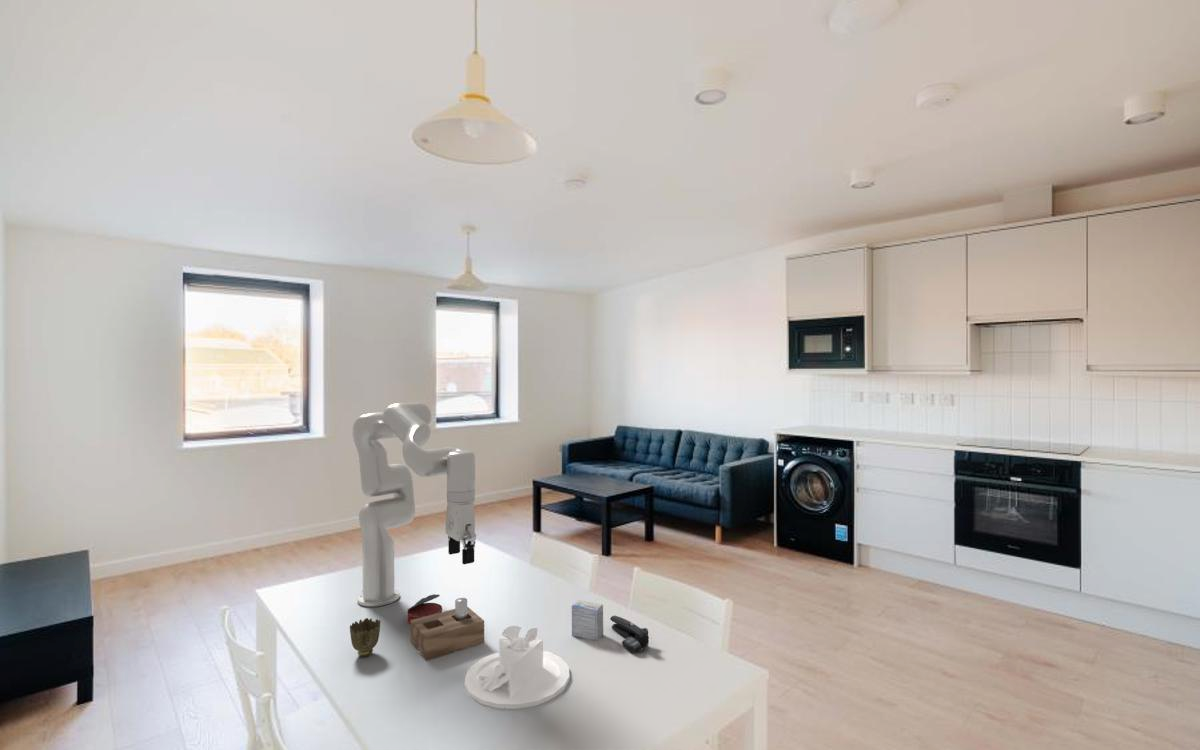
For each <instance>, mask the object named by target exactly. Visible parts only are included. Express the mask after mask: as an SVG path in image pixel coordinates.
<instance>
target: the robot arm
mask: <svg viewBox="0 0 1200 750" xmlns="http://www.w3.org/2000/svg"><path fill="white" fill-rule="evenodd" d="M431 422H432V412H431V410H430V408H429V407H428V406H427V405H426V403H423V402H419V401H417V402H416V401H415V402H398V403H396V402H395V403H393V404H390V405H388V406H387V407H386V408H385V409H384V411H383V412H382V411H381V412H379V411H378V412H370V413H365V414H362V415H360V416H358V417H356V419H355V420H354V422H353V424H352V438H353V443H354V445H355V447H356V451H357V454H358V462H359V473H360V484H361V489H362V492H363V495H364V496H366V497H369V498H370V497H371V498H375V497H381V496H386V495H387V496H388V495H392V494H393V497H391V498H384V499H379V500H375V501H369V502H368V503H366V504H364V505H363V506H362V507H361V508H360V510H359V513H358V521H359V526H360V531H361V541H362V542H361V543H362V544H361V545H362V546H361V547H362V549H361V550H362V593H361V594H360V595H358V597H357V603H358V605H360V606H363V607H371V608H372V607H380V606H381V607H382V606H387V605H389V604H391V603H394V602H396V601H397V600H398V599H399V598H400V591H399V590H398V589H395V542H394V539H393V537H392V536H391V535H390V534H389V533H388V530H390V529H394V528H397V527H402V526H405V525H408V524H410V523H412V522H413V520H414V518H415V514H416V504H415V495H414V494H415V493H414V482H413V476H412V473H411V471H412V472H413V473H415V474H416V475H417V476H419V477H421V478H433V477H437V476H438V477H439V476H445V475H446V503H447V504H446V511H445V512H446V514H445V515H446V516H445V534H446V535H447V539H448V542H447V545H448V547H447V548H448V555H451V556H452V555H455V554H460V553H461V552H462V553H461V555H462V556H461V557H462V558H461V559H462V560H461V563H462V565H467V564H473V563H475V548H476V543H477V542H476V539H477V534H476V519H475V518H476V517H475V515H476V514H475V508H474V502H476V455H475V453H474V452H473V451H471V450H466V449H463V450H462V449H461V448H459V447H455V446H447V447H440V448H431V449H430V448H429V449H423V448H422V447H423V446H425V444H426V443H427V442H428V441H429V439H430V438H431V434H432V432H431V428H430V426H429V425H430V423H431ZM391 438H392V439H393V438H395V439H396V438H398V439H399V440H400V441H401V443H402V448H401V449H402V456H403V460H404V462H405V464H403V463H393V464H389V462H388V451H387V449H386V448H385V446H384V445H383V443H382V442H381V441H380V440H383V439H391ZM410 469H411V471H410ZM466 541H467V542H466ZM461 544H462V548H463V549H462V550H461Z"/></svg>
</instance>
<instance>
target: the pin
mask: <svg viewBox="0 0 1200 750" xmlns="http://www.w3.org/2000/svg"><path fill="white" fill-rule="evenodd" d="M454 603H455V604H454V605H455V606H454V609H455V620H456V621H461V620H465V619H467V607H468V598H465V597H458V598H456V599H455V600H454Z"/></svg>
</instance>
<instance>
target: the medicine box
mask: <svg viewBox="0 0 1200 750" xmlns="http://www.w3.org/2000/svg"><path fill="white" fill-rule="evenodd" d="M603 635H604V605H603V604H602V603H597V602H594V601H593V602H592V601H586V600H580V599H578V600H577V601H575V602H574V603H572V605H571V636H573V637H578V638H581V639H582V638H583V639H585V640H590V641H597V642H598V641H599V639H601V638H602V636H603Z"/></svg>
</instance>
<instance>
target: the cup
mask: <svg viewBox="0 0 1200 750" xmlns="http://www.w3.org/2000/svg"><path fill="white" fill-rule="evenodd" d="M380 630H381V620H380V619H378V618H376V620H375V621H374V620H373V619H372V618H368V617H366V618H364V620H362V619H359V621H354V622H352V623H351V624H350V626H349V633H350V640H351V641H350V642H351V646H352V647H353V648H354V650H356V651H357V655H358V656H359V657H361V658H366V657H369V656H371V655H372V654H373V653H374V652H373V651H374V648H375V647H376V646H377V645H378V641H379V637H380V632H381V631H380Z"/></svg>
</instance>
